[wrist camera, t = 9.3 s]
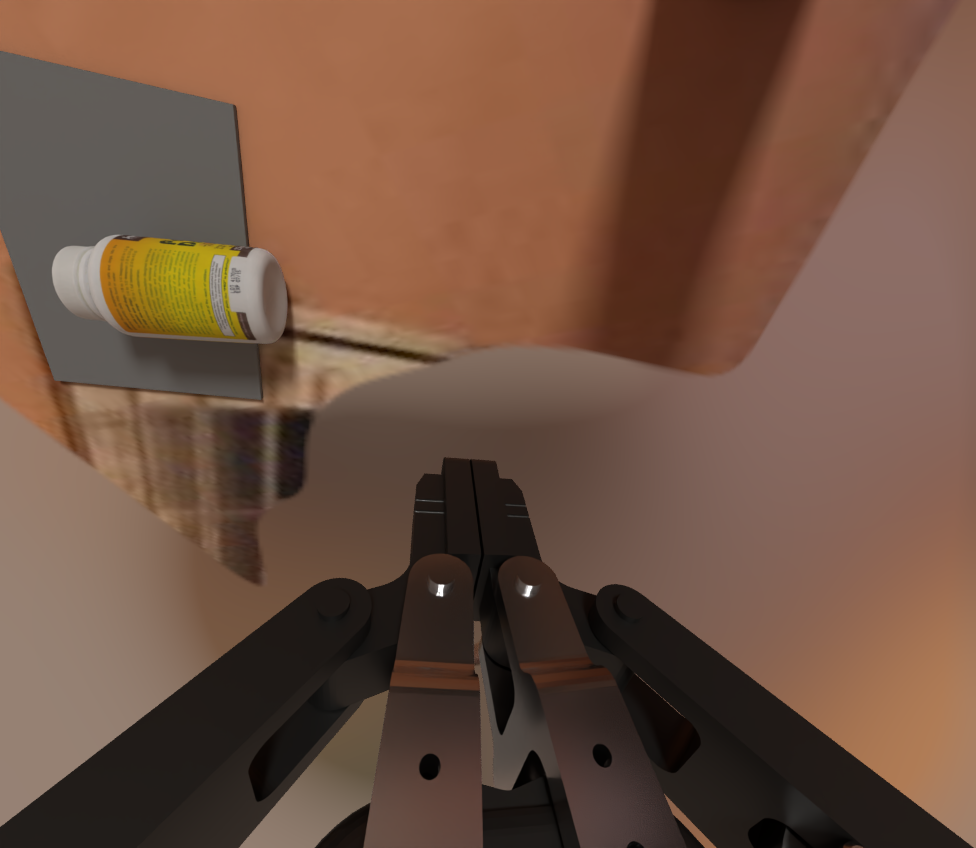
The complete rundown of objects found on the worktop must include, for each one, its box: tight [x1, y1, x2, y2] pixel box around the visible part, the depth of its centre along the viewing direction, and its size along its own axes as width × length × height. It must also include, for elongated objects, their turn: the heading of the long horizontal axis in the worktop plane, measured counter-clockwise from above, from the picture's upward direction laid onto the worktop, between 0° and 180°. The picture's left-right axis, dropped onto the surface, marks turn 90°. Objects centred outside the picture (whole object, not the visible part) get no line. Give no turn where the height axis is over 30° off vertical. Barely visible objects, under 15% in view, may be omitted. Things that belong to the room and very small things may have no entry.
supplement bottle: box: [52, 235, 288, 344], centre depth 24 cm, size 6×6×10 cm
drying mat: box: [0, 51, 263, 400], centre depth 25 cm, size 13×18×1 cm
